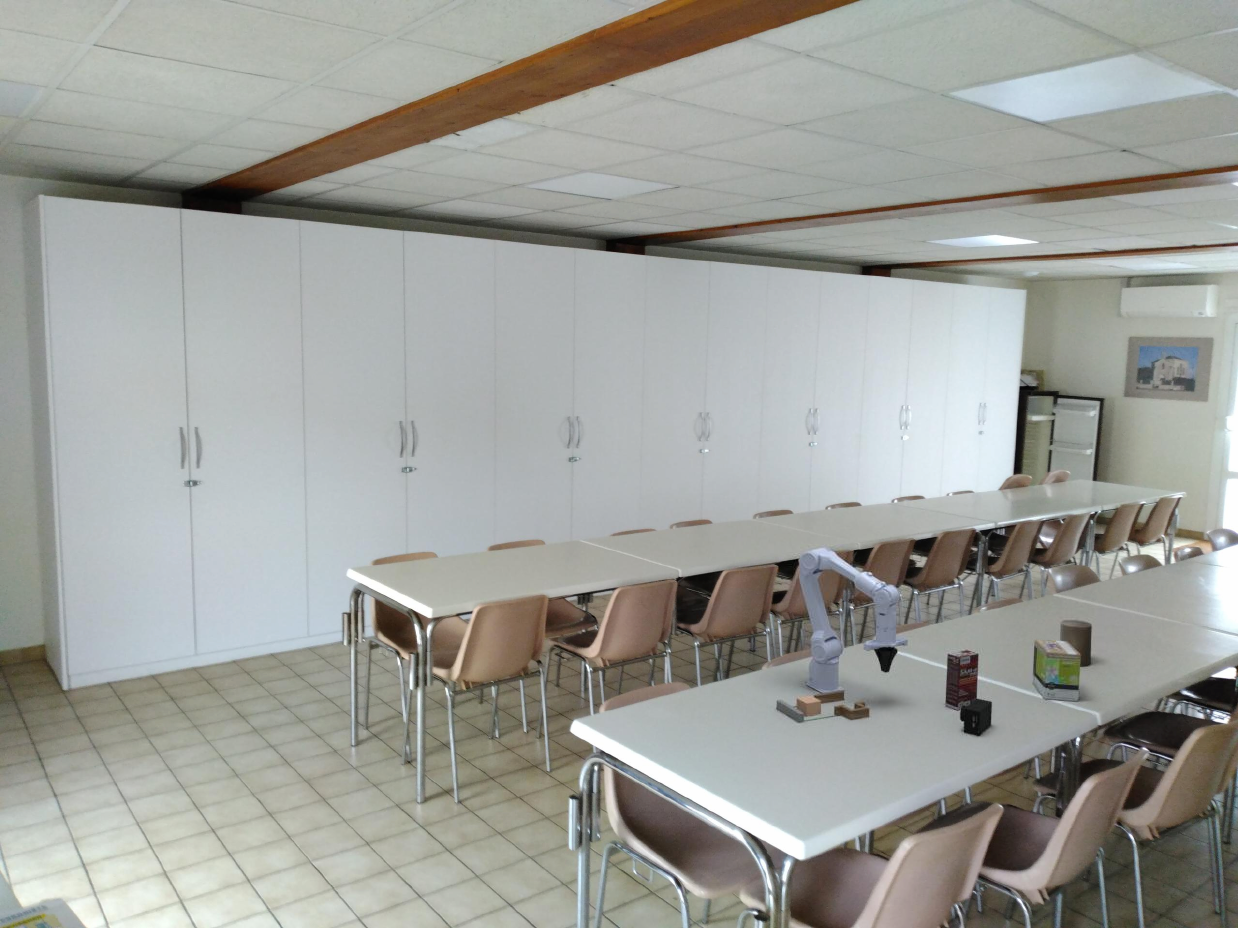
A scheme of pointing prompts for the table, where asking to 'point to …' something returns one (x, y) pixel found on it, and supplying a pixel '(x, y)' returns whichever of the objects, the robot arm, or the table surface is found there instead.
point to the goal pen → (795, 712)
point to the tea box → (1056, 670)
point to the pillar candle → (1078, 638)
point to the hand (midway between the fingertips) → (885, 671)
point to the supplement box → (961, 679)
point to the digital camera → (976, 717)
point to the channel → (851, 714)
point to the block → (809, 705)
